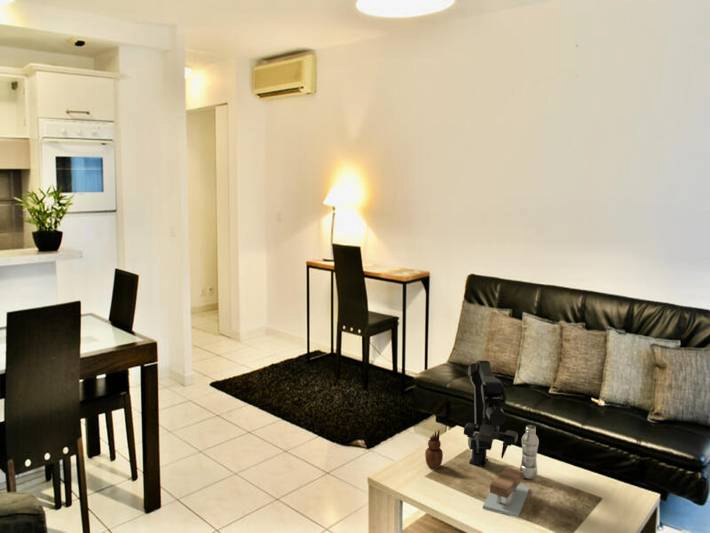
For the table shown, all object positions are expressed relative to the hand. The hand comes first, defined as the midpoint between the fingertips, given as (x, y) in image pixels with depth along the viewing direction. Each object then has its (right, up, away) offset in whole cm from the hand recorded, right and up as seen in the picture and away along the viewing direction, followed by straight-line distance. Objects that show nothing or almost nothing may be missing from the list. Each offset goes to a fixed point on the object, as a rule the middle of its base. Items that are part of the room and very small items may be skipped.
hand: (489, 455), depth 210 cm
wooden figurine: (-18, -10, +16) cm, 27 cm away
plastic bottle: (+17, -11, +9) cm, 22 cm away
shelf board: (+4, -8, -8) cm, 12 cm away
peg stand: (+4, -13, -7) cm, 16 cm away
